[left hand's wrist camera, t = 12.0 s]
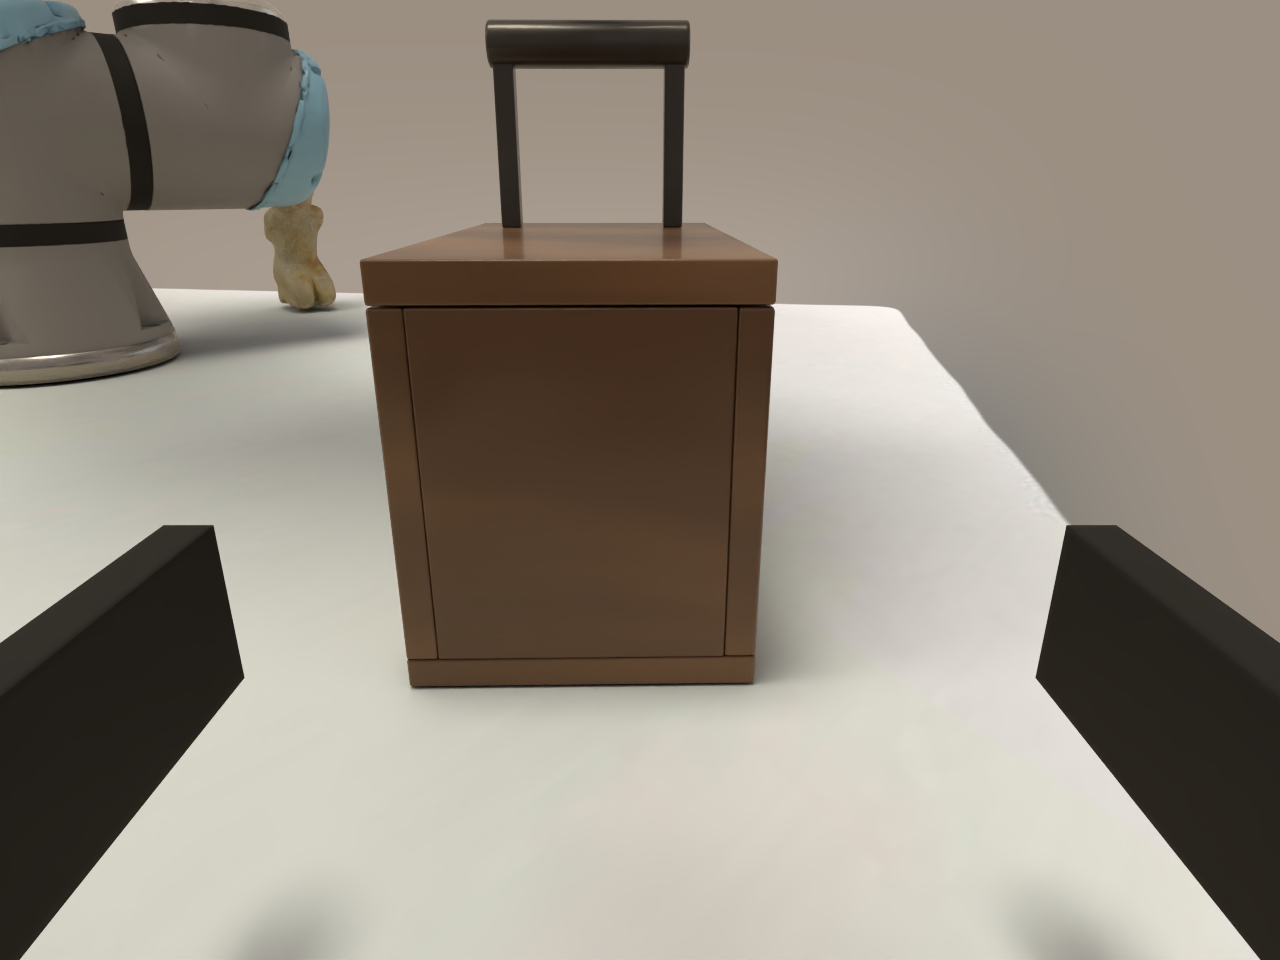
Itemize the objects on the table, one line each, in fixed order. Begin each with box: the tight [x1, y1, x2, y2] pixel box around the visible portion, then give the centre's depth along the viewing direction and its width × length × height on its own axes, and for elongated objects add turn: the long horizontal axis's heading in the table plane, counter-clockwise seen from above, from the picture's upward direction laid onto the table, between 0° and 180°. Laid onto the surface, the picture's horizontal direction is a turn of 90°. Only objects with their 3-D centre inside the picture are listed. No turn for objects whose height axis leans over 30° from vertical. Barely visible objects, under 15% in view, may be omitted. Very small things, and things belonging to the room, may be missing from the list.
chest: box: [366, 305, 775, 686], centre depth 27 cm, size 16×9×10 cm, turn 1°
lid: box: [360, 20, 778, 306], centre depth 24 cm, size 17×9×8 cm, turn 1°
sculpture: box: [264, 192, 336, 309], centre depth 82 cm, size 6×7×15 cm
